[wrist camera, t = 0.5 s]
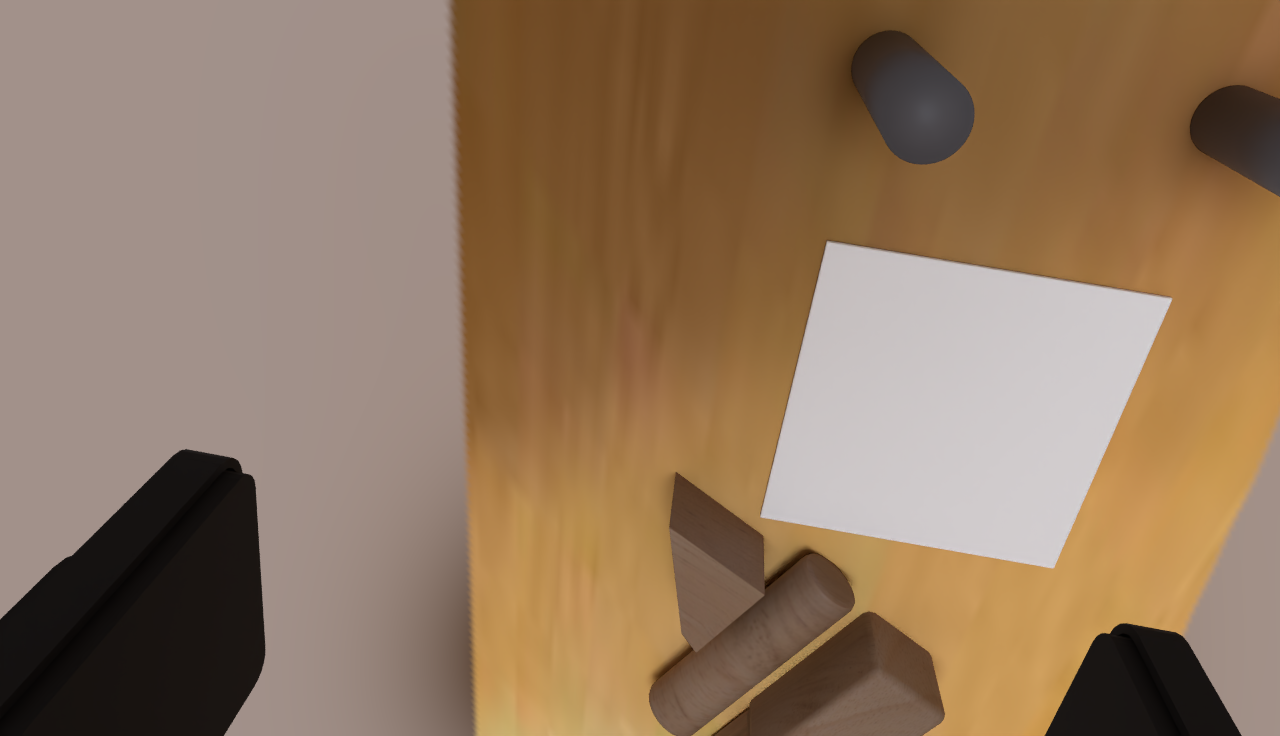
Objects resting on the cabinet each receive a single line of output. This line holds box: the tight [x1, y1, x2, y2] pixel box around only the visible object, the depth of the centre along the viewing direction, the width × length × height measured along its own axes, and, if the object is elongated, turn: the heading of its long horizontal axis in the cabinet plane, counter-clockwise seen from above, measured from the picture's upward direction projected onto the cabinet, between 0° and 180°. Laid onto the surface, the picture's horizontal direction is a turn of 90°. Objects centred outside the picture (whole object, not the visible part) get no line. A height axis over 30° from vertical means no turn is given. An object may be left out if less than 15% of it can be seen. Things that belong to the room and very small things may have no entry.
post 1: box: [851, 31, 974, 164], centre depth 31 cm, size 3×3×9 cm
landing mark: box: [760, 240, 1172, 568], centre depth 41 cm, size 14×14×1 cm
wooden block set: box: [649, 472, 945, 736], centre depth 47 cm, size 17×6×18 cm
